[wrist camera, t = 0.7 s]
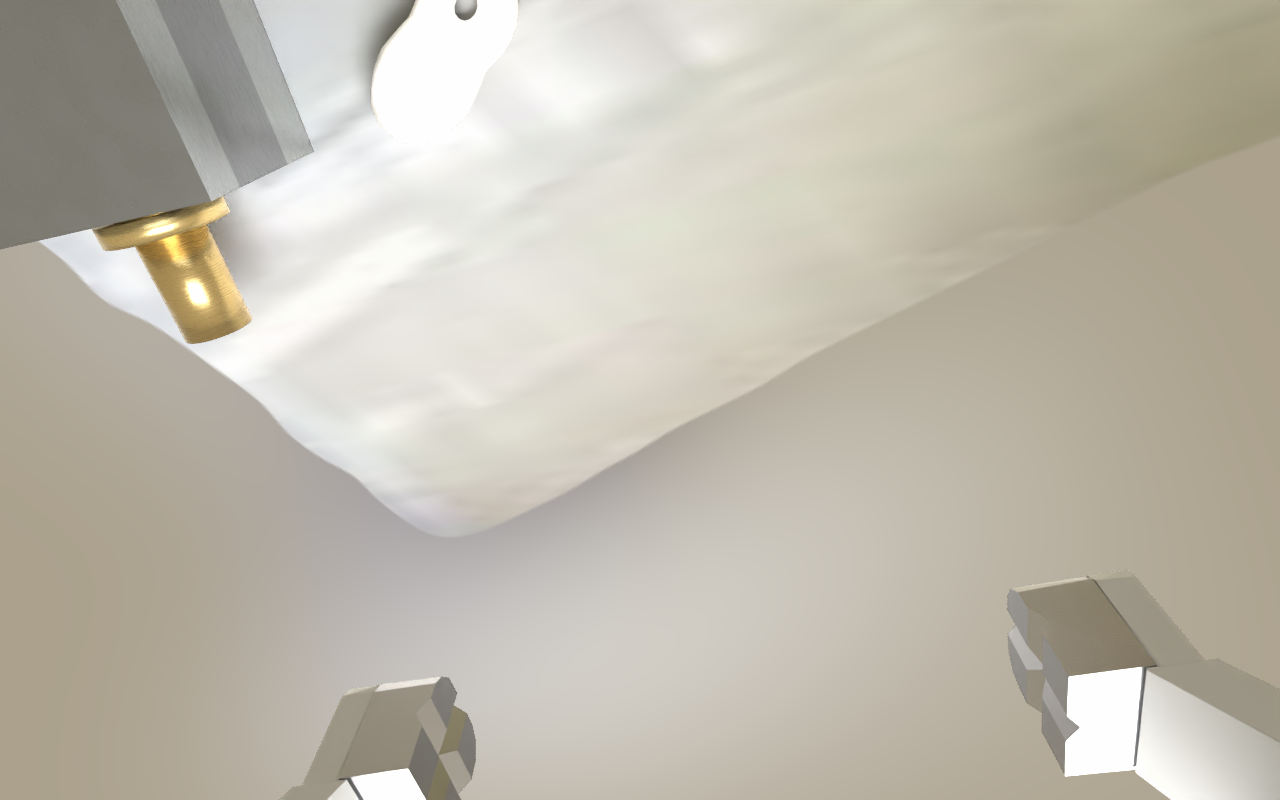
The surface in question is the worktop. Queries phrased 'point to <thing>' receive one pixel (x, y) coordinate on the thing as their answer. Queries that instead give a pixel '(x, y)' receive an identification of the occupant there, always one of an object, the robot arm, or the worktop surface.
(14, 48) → the housing
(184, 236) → the brass collar peg
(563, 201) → the worktop surface
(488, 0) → the spatula
